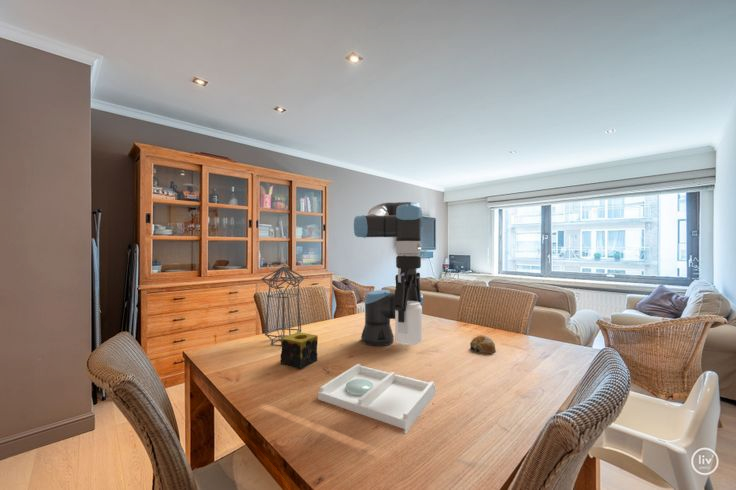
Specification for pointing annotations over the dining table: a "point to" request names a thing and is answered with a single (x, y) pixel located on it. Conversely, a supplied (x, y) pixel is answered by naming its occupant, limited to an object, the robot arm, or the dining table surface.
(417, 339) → the beverage can
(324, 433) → the dining table surface
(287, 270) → the geometric lantern
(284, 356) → the candle
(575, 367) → the dining table surface
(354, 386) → the pale green smooth oval
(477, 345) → the bread roll
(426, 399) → the divided white tray
